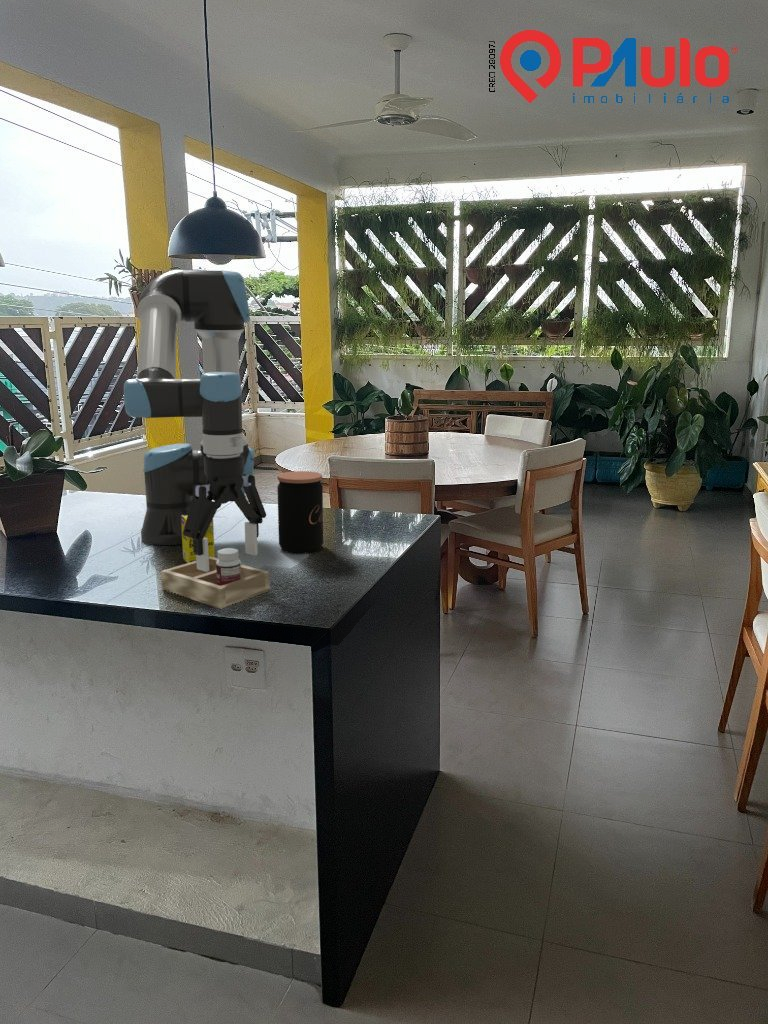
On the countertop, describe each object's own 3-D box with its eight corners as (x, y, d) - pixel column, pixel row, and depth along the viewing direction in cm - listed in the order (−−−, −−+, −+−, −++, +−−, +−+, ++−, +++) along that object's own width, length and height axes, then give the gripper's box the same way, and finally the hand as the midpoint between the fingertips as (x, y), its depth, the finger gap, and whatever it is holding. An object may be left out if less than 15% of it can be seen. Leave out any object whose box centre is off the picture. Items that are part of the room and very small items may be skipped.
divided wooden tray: (162, 589, 155) (161, 571, 154) (211, 573, 165) (210, 556, 164) (221, 608, 144) (220, 588, 144) (269, 590, 155) (269, 572, 154)
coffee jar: (316, 555, 178) (315, 480, 174) (272, 553, 180) (270, 478, 176) (328, 543, 188) (327, 472, 184) (287, 541, 191) (285, 470, 186)
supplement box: (189, 568, 168) (186, 520, 166) (182, 561, 173) (180, 514, 171) (215, 565, 171) (213, 517, 168) (208, 558, 176) (206, 512, 174)
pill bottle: (219, 587, 154) (217, 547, 152) (242, 586, 155) (241, 547, 153) (215, 595, 150) (213, 554, 148) (240, 594, 150) (238, 554, 148)
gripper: (185, 466, 134) (192, 582, 140) (282, 448, 153) (284, 550, 158) (158, 461, 138) (165, 573, 144) (255, 443, 157) (259, 543, 163)
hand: (228, 561), depth 151 cm, fingers open, 12 cm apart
